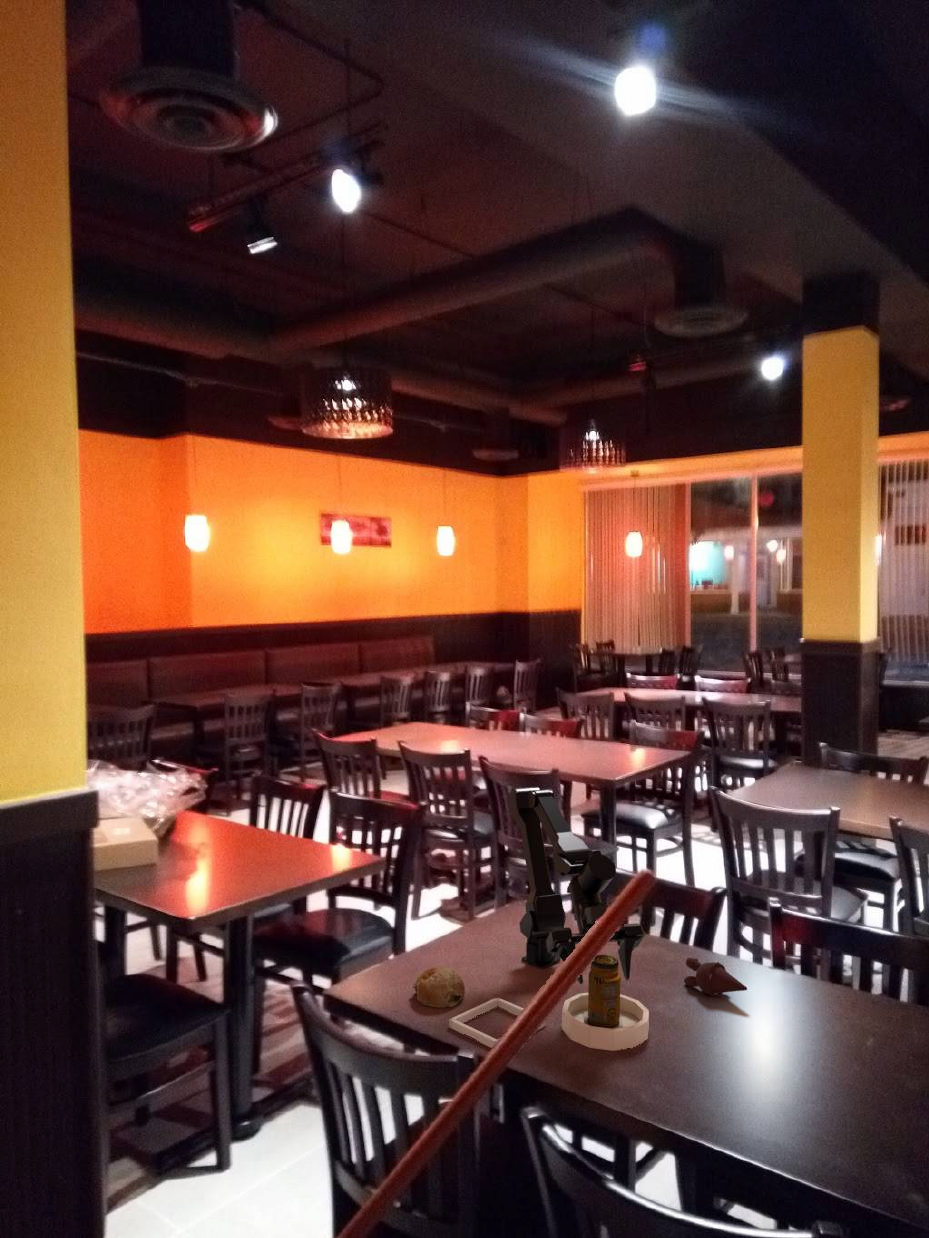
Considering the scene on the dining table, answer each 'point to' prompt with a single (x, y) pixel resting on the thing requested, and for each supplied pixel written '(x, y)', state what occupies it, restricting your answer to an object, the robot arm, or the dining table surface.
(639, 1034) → the bowl
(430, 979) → the bread roll
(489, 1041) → the square frame
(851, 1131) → the dining table surface
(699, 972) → the icecream
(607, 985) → the condiment
